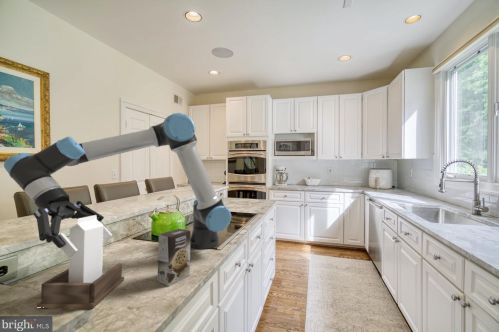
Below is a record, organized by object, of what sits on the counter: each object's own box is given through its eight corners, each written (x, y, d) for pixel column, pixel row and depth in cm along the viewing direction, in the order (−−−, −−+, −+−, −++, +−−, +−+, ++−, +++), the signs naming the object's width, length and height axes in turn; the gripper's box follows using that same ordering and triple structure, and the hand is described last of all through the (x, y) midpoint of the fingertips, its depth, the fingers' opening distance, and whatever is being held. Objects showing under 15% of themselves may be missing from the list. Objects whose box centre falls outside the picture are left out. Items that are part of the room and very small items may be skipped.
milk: (67, 292, 64) (69, 218, 64) (88, 282, 70) (89, 214, 70) (83, 296, 62) (84, 219, 62) (102, 285, 68) (103, 215, 68)
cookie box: (169, 287, 70) (170, 236, 70) (156, 281, 73) (157, 233, 73) (190, 275, 77) (191, 230, 78) (178, 270, 81) (179, 227, 81)
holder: (124, 280, 73) (124, 262, 74) (92, 308, 58) (93, 285, 59) (79, 280, 73) (79, 261, 73) (36, 308, 58) (37, 285, 58)
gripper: (75, 198, 80) (113, 240, 78) (-11, 211, 55) (43, 273, 54) (89, 184, 79) (127, 226, 78) (9, 190, 55) (63, 252, 53)
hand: (93, 245), depth 66 cm, fingers open, 13 cm apart
